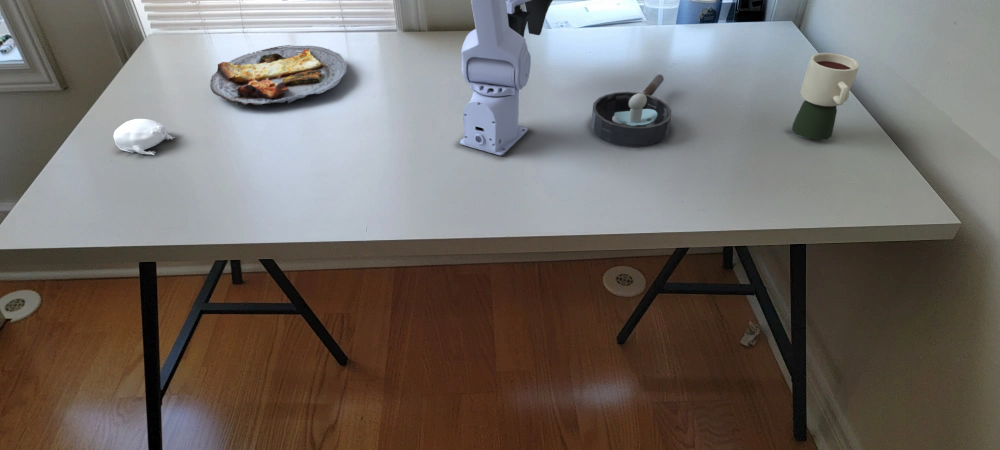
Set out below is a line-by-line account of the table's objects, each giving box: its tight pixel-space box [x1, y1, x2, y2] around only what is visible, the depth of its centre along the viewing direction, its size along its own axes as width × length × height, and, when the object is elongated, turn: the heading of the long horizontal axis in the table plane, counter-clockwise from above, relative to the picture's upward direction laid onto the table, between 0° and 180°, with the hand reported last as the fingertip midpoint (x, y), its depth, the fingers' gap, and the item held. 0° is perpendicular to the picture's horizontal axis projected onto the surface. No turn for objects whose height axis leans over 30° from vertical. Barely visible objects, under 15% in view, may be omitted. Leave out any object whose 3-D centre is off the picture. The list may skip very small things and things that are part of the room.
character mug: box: [791, 52, 860, 140], centre depth 105 cm, size 11×7×13 cm, turn 3°
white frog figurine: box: [113, 118, 176, 156], centre depth 105 cm, size 8×7×4 cm
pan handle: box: [641, 74, 665, 96], centre depth 117 cm, size 10×2×2 cm, turn 151°
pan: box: [590, 91, 673, 148], centre depth 110 cm, size 13×13×4 cm
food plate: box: [209, 44, 348, 106], centre depth 124 cm, size 25×23×4 cm
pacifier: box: [612, 92, 657, 127], centre depth 109 cm, size 7×6×6 cm
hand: (525, 41), depth 117 cm, fingers open, 7 cm apart
